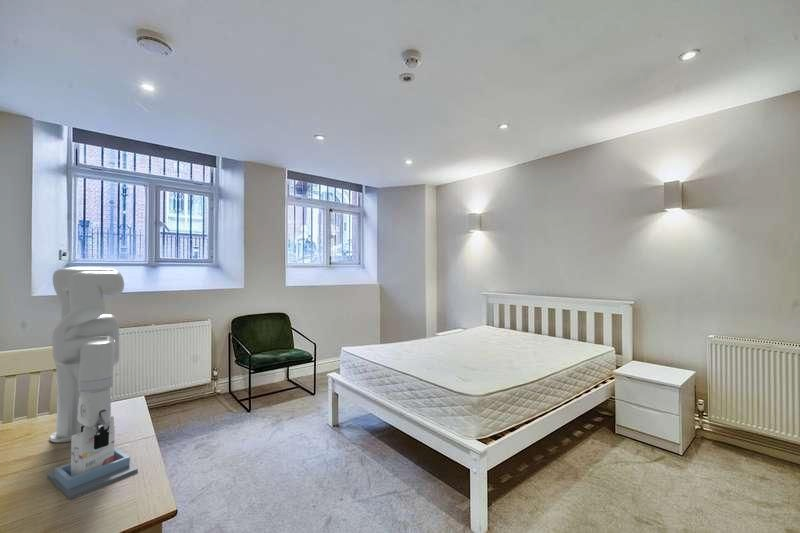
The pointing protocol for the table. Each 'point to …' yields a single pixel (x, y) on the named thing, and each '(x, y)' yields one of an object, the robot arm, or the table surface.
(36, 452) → the table surface
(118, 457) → the dock
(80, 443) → the ink cartridge box
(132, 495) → the table surface
